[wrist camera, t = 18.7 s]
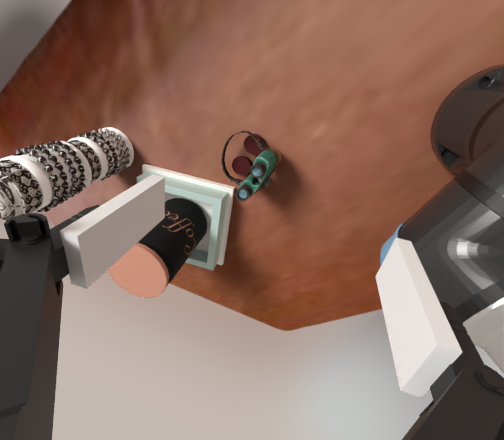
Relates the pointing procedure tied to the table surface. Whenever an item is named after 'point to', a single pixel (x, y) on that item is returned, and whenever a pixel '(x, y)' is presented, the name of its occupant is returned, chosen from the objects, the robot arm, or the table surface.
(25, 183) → the decorative candle
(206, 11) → the table surface
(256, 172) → the binoculars
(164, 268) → the coffee jar
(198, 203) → the pocket tray
